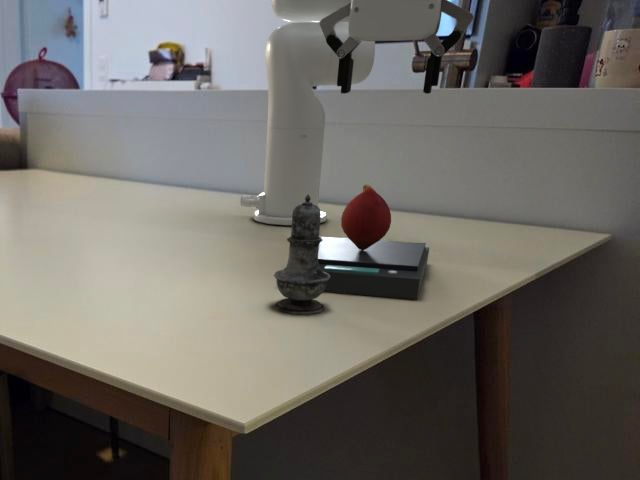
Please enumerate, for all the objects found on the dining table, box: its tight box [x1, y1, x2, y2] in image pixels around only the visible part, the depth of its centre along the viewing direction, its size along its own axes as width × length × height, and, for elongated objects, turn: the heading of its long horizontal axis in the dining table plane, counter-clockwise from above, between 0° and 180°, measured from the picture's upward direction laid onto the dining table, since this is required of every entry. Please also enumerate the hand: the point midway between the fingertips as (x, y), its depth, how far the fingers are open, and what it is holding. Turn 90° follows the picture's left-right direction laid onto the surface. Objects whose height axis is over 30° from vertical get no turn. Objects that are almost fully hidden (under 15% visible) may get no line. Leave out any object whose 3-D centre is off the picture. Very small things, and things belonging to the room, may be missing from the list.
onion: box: [340, 183, 392, 250], centre depth 90 cm, size 6×6×8 cm
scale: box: [318, 236, 430, 300], centre depth 91 cm, size 15×18×3 cm
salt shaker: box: [273, 194, 330, 315], centre depth 77 cm, size 6×6×12 cm
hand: (385, 93), depth 90 cm, fingers open, 9 cm apart
